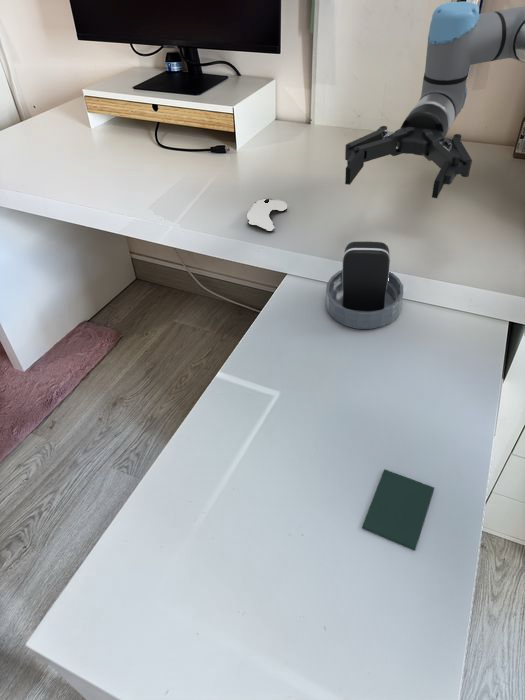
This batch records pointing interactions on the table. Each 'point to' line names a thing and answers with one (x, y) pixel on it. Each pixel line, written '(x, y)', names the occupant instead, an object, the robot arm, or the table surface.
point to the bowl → (364, 317)
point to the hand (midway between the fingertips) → (390, 183)
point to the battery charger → (365, 275)
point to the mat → (398, 509)
